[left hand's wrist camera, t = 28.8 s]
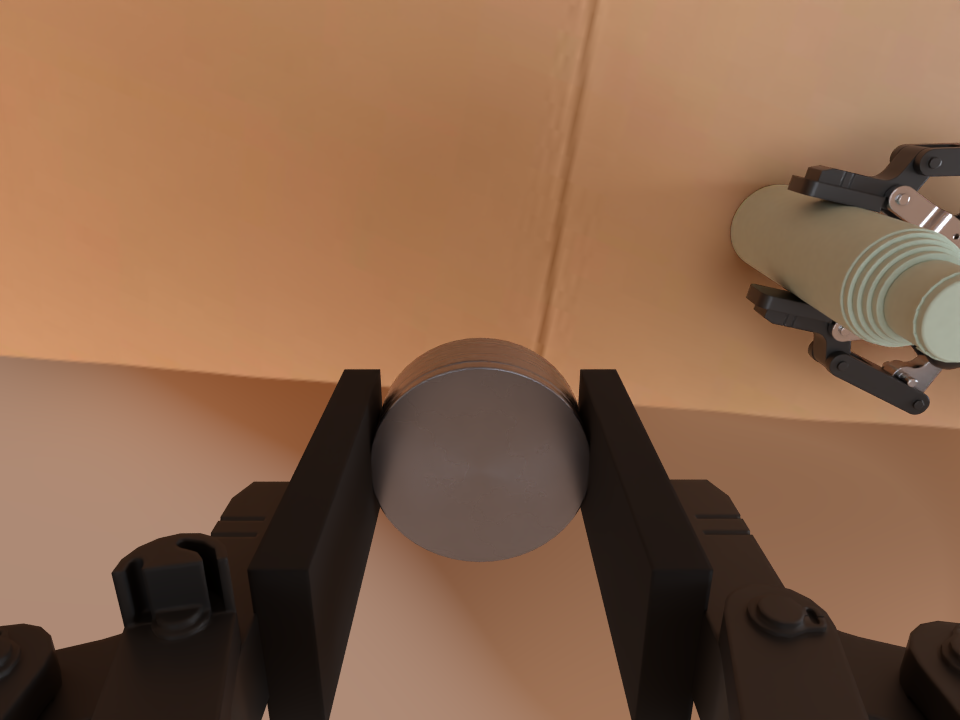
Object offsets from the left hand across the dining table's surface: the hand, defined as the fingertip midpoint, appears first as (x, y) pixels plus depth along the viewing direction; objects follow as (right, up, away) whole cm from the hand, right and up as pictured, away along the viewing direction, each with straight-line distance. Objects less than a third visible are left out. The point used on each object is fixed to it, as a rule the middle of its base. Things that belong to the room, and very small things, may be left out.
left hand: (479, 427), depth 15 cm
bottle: (+17, +9, +24) cm, 31 cm away
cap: (0, -1, -1) cm, 1 cm away
